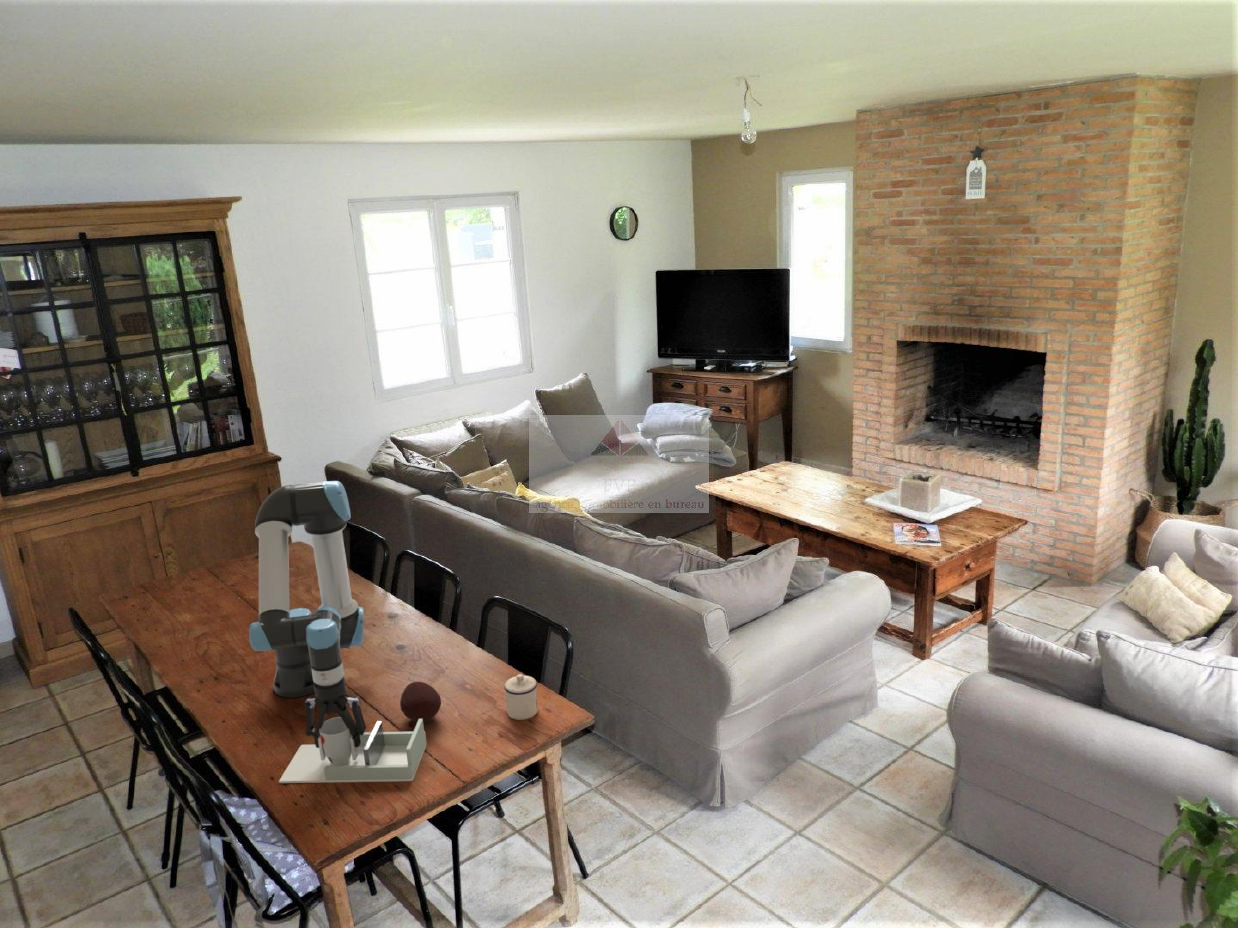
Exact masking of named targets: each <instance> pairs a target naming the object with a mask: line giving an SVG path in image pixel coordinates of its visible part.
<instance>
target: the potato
mask: <svg viewBox="0 0 1238 928" xmlns="http://www.w3.org/2000/svg"><path fill="white" fill-rule="evenodd" d="M400 696H401V697H400V701H399V702H400V703H399V705H400V710H401V712H402V713H403V715H404V716H405V717H406V718H407V719H409V720H411V721H413V722H415V723H417V722H418V720H419V719H423V724H425V723H428V722H430V721H431V720H433V719H434V718H435V717H436V715H437V714H438V713H439V711H440V710H441V709H440V708H441V705H442V700H441V696H440V693H438V692H437V690H436V689H435V688H434V687H433V686H432V685H430V684H428V683H426V682H424V681H413V682H410V683H409V684H408V685H407V686H405V688H404V690H403V692H402V694H401V695H400Z"/></svg>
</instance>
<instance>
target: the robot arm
mask: <svg viewBox="0 0 1238 928" xmlns="http://www.w3.org/2000/svg"><path fill="white" fill-rule="evenodd" d="M347 494H348V493H347V492H346V489H345V486H344V485H343V483H342V482H340V481H339V480H329V481H327V480H323V481H319V482H318V481H317V482H309V483H307V482H306V483H300V484H287V485H283V486H281V487H278V488H277V489H275V490H273V491H272V492H271V493H270V494H269V495H268V496H267V497H266V498H265V499H264V501H263V502H262V504H261V506H260V507H259V509H258V511H257V514H256V517H255V522H254V534H255V535H256V537H257V538H258V621H255V622H252V623H250V625H249V629H248V634H249V643H250V647H251V649H252V650H253V651H254V652H264V651H273V650H274V657H275V662H276V668H275V669H276V670H275V675H274V678H273V690H274V692H275V694H276V695H278V696H280V697H283V698H289V699H290V698H300V697H306V696H309V695H312V694H313V693H314V695H315V697H314V698H312V697H308V698H306V700H305V702H303V704H304V708H305V711H306V712H305V713H306V714H305V715H306V716H305V735H306V737H310V736H311V737H313V739H314V745H315V746H316V748H319V750H320V757H321V761H322V760H325V758H326V753H325V750H324V748H323V745H322V741H321V736H320V731H319V729H321V728H322V726H323V724H324V722H325V721H326V717H327V715H330V714H335V715H336V714H337V715H338V717H341V718H342V720H343V721H344V723H345V725H346V726H347V728H349V731H350V733H351V734H352V736H351V737H350V743H351V750H352V758H353V760H356V758H357V756H358V755H359V751H358V747H359V745H360V743H361V740H360V735H363V734H364V732H366V730H367V726H366V721H365V719H364V716H363V713H362V709H361V706H360V702H361V701H360V700H361V698H360V697H359V696H355V697H349V695H348V694H347V686H346V680H345V676H344V675H345V673H344V672H345V671H344V665H343V660H342V659H343V658H342V653H341V652H342V651H341V650H343V649H347V650H348V649H351V648H355V647H359V646H361V645H362V644H363V642H364V622H365V621H364V619H365V617H364V616H365V615H364V613H365V612H364V611H365V609H364V607H363V606H362V607H361V606H359V605H358V604H359V603H358V602H357V600H356V599H354V598H352V591H351V583H350V577H349V571H348V570H349V569H348V563H347V556H346V549H345V544H344V533H343V530H345V528H347V527H346V526H347V523H348V522H347V521H349V520H350V519H351V518H352V517H351V514H352V513H351V508H350V503H349V498H348V496H347ZM295 526H296V527H297V526H303V528H304V529H303V530H304V532H305V533H306V534H308V535H309V536H310V537H311V543H312V547H313V548H312V549H313V555H314V561H315V567H316V573H317V574H316V575H317V580H318V587H319V592H320V600H321V605H319V607H318V608H317V609H316V610H315V611H314V612H313V613H312V612H311V610H310V609H308V608H306V607H305V608H304V607H299V608H293V609H290V565H289V562H290V560H289V558H290V557H289V556H290V555H289V550H290V549H289V537H290V536H291V534H292V532H293V527H295ZM347 704H349V707H350V708H351V712H352V714H351V713H350V711H349V708H348V706H347ZM315 706H317V707H318V708H319V709H320V712H319V715H318V719H317V722H316V726H315ZM352 715H353V716H352Z"/></svg>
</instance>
